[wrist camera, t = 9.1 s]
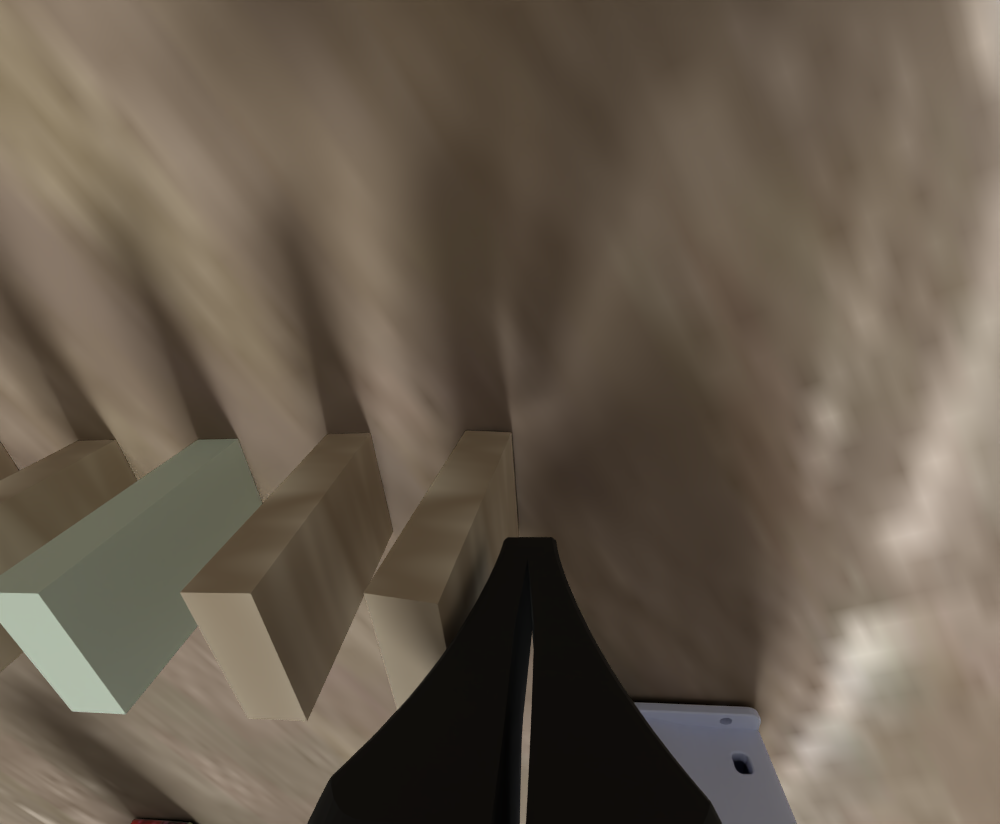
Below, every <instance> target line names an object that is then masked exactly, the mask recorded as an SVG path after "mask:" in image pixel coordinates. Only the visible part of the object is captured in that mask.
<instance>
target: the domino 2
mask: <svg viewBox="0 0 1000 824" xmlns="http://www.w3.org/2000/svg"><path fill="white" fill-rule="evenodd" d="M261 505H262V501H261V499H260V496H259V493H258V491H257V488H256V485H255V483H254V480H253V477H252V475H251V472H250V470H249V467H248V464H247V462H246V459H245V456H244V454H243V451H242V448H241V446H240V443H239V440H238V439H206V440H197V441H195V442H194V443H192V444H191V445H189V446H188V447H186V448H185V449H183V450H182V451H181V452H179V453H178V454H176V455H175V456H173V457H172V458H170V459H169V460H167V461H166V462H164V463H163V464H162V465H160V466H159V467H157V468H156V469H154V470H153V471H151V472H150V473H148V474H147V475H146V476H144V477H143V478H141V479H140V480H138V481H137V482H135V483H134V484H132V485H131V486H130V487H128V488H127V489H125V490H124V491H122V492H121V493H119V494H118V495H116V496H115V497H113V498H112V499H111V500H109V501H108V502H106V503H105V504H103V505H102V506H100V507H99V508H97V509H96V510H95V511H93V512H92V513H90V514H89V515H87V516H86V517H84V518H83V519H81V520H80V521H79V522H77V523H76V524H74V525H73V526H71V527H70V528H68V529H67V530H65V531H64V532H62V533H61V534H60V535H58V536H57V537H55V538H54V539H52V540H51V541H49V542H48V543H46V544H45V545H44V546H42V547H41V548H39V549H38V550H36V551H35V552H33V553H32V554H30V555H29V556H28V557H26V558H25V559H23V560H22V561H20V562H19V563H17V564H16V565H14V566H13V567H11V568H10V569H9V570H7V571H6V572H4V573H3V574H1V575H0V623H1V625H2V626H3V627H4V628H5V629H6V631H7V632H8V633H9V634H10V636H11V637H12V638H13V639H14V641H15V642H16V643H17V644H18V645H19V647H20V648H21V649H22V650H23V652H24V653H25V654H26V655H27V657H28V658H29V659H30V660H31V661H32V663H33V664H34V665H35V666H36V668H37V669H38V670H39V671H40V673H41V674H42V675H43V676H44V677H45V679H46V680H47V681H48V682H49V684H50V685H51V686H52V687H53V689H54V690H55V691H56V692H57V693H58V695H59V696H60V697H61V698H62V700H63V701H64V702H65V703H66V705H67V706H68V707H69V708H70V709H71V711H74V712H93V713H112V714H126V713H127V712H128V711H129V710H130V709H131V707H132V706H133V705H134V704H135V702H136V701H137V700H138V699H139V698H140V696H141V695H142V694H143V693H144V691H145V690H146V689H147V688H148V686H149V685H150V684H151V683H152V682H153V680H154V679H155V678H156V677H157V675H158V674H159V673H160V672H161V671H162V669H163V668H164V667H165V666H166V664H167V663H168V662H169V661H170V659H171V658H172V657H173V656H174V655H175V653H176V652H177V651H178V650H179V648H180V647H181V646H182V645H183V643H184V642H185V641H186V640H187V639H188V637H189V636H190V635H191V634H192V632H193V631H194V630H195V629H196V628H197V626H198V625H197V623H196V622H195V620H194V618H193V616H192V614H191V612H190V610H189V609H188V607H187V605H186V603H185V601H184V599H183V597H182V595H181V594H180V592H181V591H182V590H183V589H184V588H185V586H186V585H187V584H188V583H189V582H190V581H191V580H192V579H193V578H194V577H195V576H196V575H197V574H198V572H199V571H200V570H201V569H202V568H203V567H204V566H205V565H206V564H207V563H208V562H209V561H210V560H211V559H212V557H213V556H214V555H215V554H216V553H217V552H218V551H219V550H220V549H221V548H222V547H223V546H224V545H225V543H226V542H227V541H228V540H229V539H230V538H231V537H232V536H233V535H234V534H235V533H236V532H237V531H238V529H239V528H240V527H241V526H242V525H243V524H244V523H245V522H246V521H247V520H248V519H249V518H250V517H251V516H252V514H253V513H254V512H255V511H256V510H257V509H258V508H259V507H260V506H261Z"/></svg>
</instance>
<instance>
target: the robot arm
mask: <svg viewBox="0 0 1000 824" xmlns="http://www.w3.org/2000/svg"><path fill="white" fill-rule="evenodd" d="M532 633H533V647H534V658H533V687H532V713H531V736H530V758H529V778H528V798H527V816H526V824H797V823H796V820H795V818H794V815H793V813H792V811H791V808H790V806H789V803H788V801H787V798H786V796H785V794H784V791H783V789H782V786H781V784H780V781H779V779H778V777H777V774H776V772H775V769H774V767H773V764H772V762H771V760H770V757H769V755H768V752H767V750H766V747H765V745H764V743H763V740H762V738H761V735H760V733H759V731H758V730H759V726H760V723H761V719H760V716H759V714H758V712H757V711H756V710H755V709H753V708H751V707H739V706H715V705H691V704H668V703H644V702H633V701H632V699H631V698H630V697H629V695H628V694H627V692H626V691H625V689H624V688H623V686H622V685H621V683H620V682H619V680H618V678H617V677H616V675H615V674H614V672H613V670H612V669H611V667H610V666H609V664H608V662H607V661H606V659H605V657H604V655H603V654H602V652H601V650H600V649H599V647H598V645H597V643H596V641H595V640H594V638H593V636H592V634H591V632H590V630H589V628H588V626H587V624H586V622H585V620H584V618H583V616H582V614H581V612H580V610H579V608H578V606H577V603H576V601H575V599H574V596H573V594H572V592H571V589H570V587H569V584H568V582H567V579H566V577H565V574H564V571H563V568H562V565H561V562H560V558H559V554H558V550H557V545H556V540H554V539H553V538H552V537H507V538H506V539H505V540H504V541H503V545H502V548H501V551H500V553H499V556H498V558H497V561H496V563H495V565H494V568H493V570H492V572H491V574H490V576H489V578H488V580H487V582H486V584H485V586H484V588H483V590H482V592H481V594H480V596H479V598H478V599H477V601H476V603H475V605H474V606H473V608H472V610H471V611H470V613H469V615H468V617H467V618H466V620H465V622H464V623H463V625H462V627H461V628H460V630H459V631H458V633H457V634H456V636H455V637H454V639H453V640H452V642H451V643H450V645H449V646H448V647H447V649H446V650H445V652H444V653H443V655H442V656H441V657H440V659H439V660H438V661H437V663H436V664H435V665H434V667H433V668H432V669H431V670H430V672H429V673H428V674H427V676H426V677H425V678H424V679H423V681H422V682H421V683H420V684H419V686H418V687H417V688H416V689H415V691H414V692H413V693H412V694H411V695H410V696H409V698H408V699H407V700H406V701H405V702H404V703H403V704H402V705H401V706H400V708H399V709H398V710H397V711H396V712H395V713H394V714H393V715H392V716H391V717H390V719H389V720H388V721H387V722H386V723H385V724H384V725H383V726H382V727H381V729H380V730H379V731H378V732H377V733H376V734H375V735H374V736H373V737H372V738H371V739H370V740H369V741H368V742H367V743H366V744H365V745H364V746H363V747H362V748H360V749H359V750H358V751H357V752H356V753H355V754H354V755H353V756H352V757H351V758H350V759H349V760H348V761H347V762H346V763H345V764H344V765H343V766H342V767H341V768H340V769H339V770H338V771H337V772H336V773H335V774H334V775H333V776H332V777H331V778H330V780H329V781H328V783H327V785H326V787H325V789H324V791H323V793H322V795H321V797H320V798H319V800H318V803H317V805H316V807H315V809H314V811H313V813H312V815H311V817H310V819H309V821H308V824H520V784H521V744H522V725H523V713H524V703H525V694H526V684H527V675H528V665H529V656H530V646H531V636H532Z"/></svg>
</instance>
